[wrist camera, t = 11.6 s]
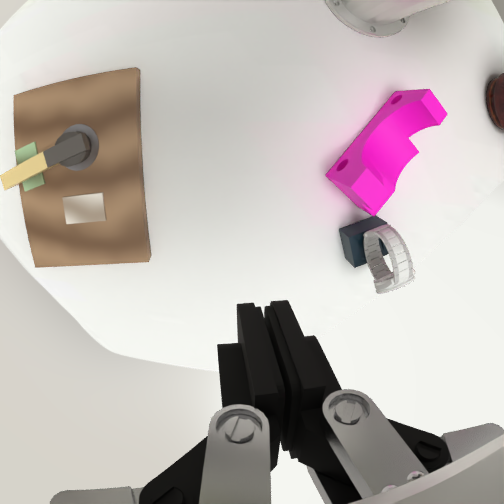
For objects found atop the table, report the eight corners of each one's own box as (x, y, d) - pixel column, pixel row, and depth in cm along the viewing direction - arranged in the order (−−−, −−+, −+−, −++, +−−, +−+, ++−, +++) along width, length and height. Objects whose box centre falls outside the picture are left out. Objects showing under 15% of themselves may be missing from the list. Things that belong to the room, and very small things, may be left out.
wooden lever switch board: (21, 96, 27) (12, 95, 25) (140, 70, 29) (135, 66, 27) (41, 261, 35) (34, 268, 33) (151, 255, 37) (148, 263, 35)
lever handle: (91, 124, 28) (78, 124, 25) (100, 154, 30) (88, 158, 26) (13, 163, 28) (-3, 168, 25) (22, 190, 29) (6, 198, 26)
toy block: (357, 206, 39) (386, 224, 32) (324, 175, 37) (350, 187, 30) (421, 125, 35) (458, 129, 29) (394, 91, 33) (429, 88, 26)
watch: (347, 270, 42) (385, 313, 32) (335, 216, 39) (377, 249, 28) (382, 255, 42) (426, 293, 32) (373, 202, 39) (422, 230, 28)
